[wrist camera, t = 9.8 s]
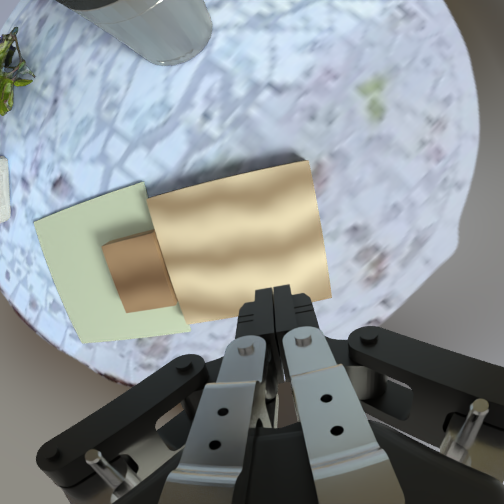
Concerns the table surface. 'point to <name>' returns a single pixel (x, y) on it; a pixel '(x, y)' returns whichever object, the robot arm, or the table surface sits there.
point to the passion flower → (4, 82)
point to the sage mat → (101, 267)
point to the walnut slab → (139, 272)
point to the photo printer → (4, 190)
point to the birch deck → (241, 240)
